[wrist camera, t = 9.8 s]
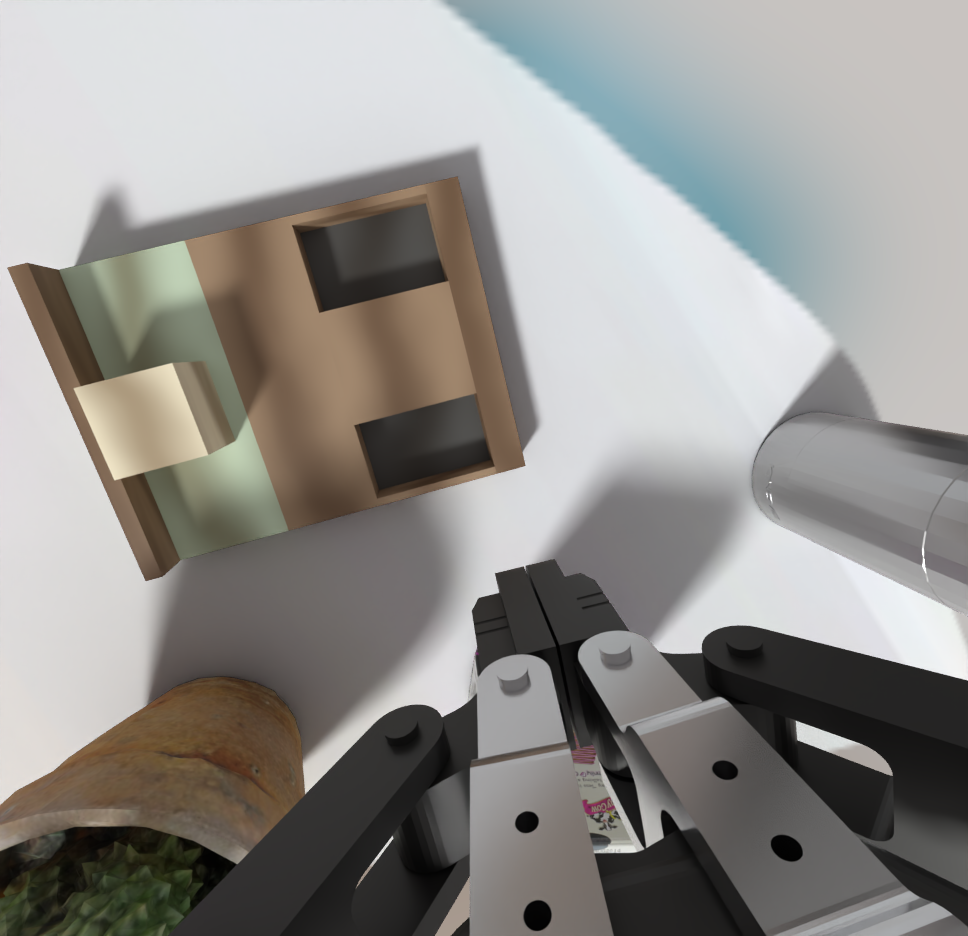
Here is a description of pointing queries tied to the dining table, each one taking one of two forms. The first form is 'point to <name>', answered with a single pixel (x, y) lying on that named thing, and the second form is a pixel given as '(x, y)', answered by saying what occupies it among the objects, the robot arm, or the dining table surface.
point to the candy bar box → (588, 794)
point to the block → (156, 417)
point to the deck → (293, 365)
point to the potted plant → (149, 813)
